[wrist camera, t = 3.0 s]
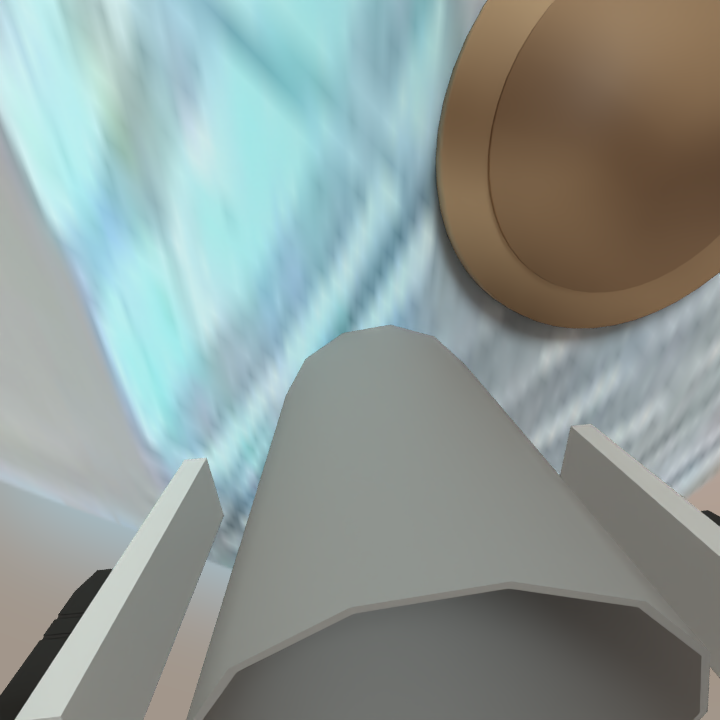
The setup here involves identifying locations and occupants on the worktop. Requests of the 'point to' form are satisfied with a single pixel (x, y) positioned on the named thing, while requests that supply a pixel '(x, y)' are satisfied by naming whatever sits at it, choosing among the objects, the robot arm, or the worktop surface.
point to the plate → (585, 156)
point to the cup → (431, 565)
